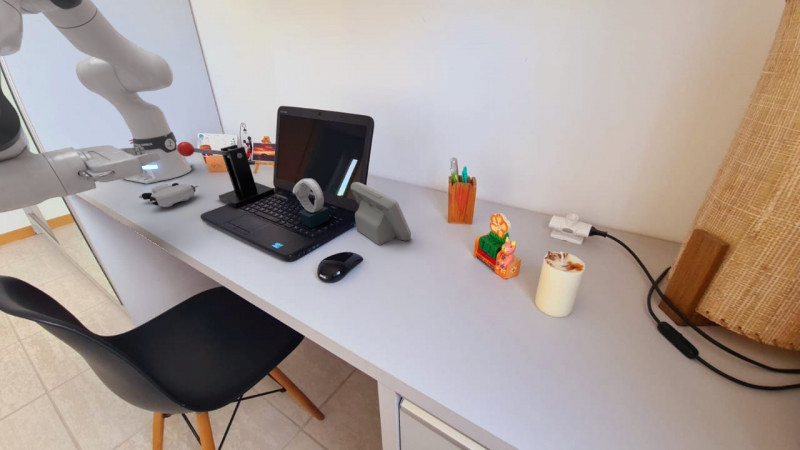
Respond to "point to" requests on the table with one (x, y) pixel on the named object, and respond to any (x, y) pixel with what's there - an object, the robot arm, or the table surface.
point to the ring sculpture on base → (311, 213)
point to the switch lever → (197, 150)
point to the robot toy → (169, 194)
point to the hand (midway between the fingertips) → (150, 152)
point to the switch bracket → (242, 179)
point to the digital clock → (378, 215)
